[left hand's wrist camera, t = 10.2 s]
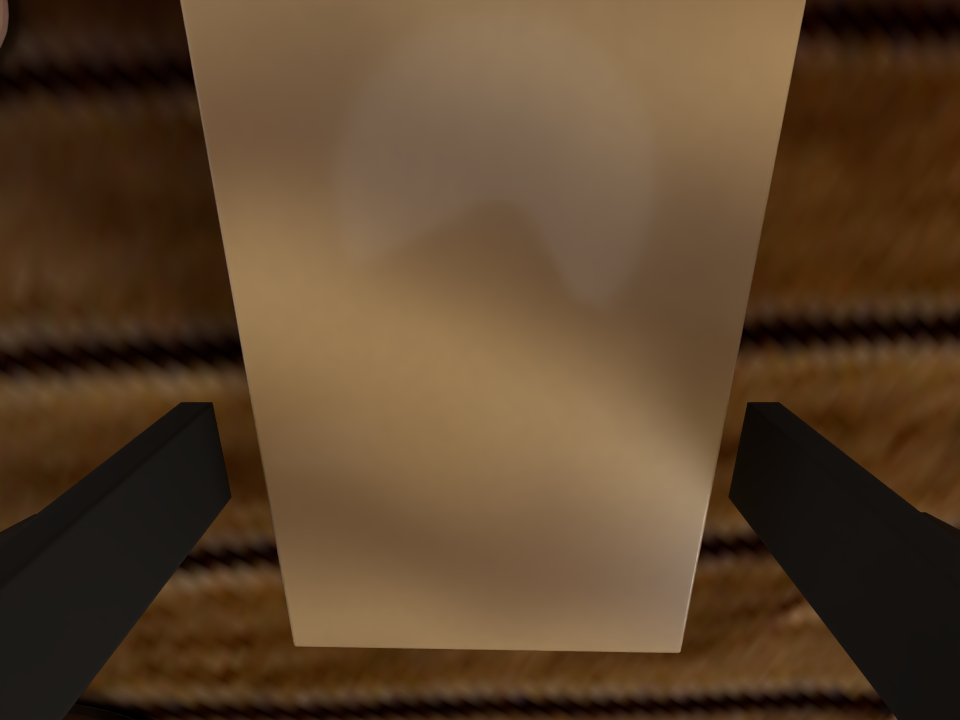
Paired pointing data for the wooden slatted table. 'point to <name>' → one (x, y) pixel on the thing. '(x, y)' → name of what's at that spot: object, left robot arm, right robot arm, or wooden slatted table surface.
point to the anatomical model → (3, 19)
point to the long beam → (490, 299)
